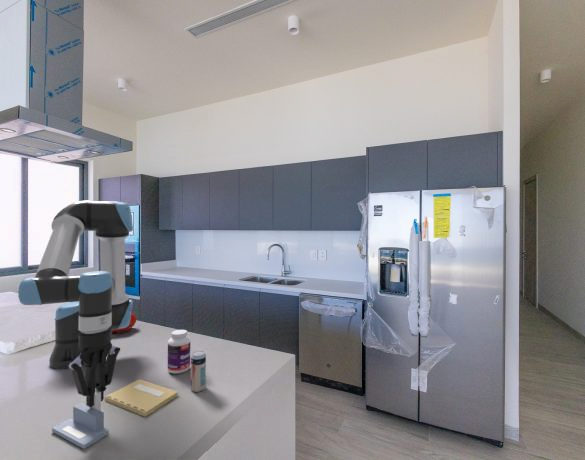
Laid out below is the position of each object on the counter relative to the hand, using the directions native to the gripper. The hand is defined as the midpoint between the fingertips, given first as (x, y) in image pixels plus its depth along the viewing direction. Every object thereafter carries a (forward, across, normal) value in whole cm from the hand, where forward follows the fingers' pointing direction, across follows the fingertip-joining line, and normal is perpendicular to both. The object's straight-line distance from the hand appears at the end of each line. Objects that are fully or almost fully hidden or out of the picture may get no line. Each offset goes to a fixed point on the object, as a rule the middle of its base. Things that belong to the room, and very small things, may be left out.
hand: (95, 415), depth 81 cm
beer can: (+3, +26, -12) cm, 29 cm away
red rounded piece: (+3, +50, +64) cm, 82 cm away
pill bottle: (+3, +34, +4) cm, 34 cm away
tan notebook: (+3, +14, 0) cm, 15 cm away
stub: (+2, -4, 0) cm, 4 cm away
